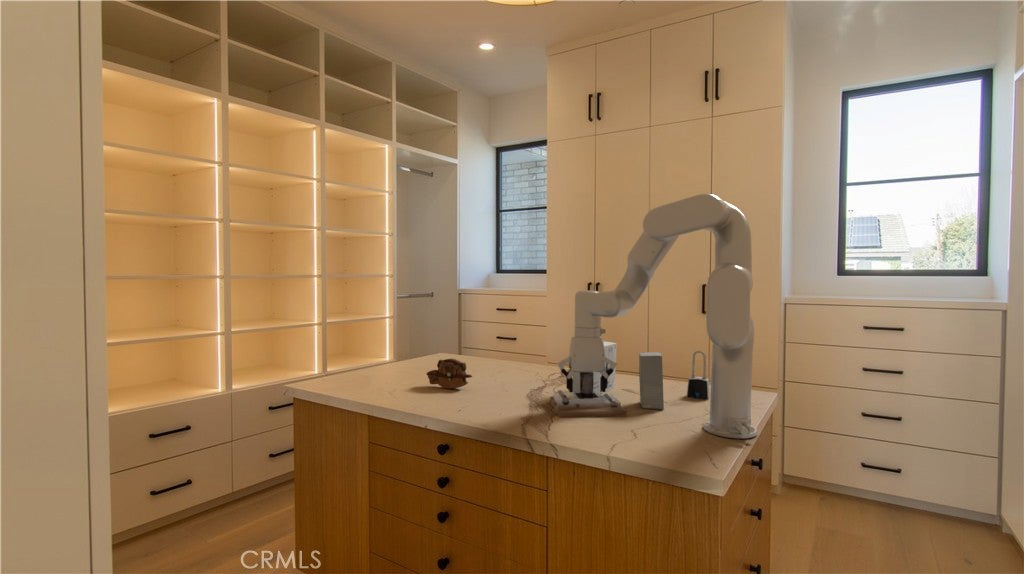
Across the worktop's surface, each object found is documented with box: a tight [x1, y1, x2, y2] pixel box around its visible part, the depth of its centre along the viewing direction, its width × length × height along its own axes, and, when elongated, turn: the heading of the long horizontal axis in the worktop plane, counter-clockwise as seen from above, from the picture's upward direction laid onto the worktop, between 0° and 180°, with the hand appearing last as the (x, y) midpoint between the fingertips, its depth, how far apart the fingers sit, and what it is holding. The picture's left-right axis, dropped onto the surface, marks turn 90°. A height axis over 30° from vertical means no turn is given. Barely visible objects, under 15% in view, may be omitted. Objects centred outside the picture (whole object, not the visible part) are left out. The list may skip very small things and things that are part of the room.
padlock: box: [686, 350, 711, 400], centre depth 163 cm, size 7×4×15 cm, turn 62°
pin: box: [579, 372, 594, 398], centre depth 148 cm, size 4×4×9 cm
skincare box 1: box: [572, 340, 618, 395], centre depth 167 cm, size 21×5×16 cm, turn 143°
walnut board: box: [549, 396, 627, 418], centre depth 149 cm, size 16×19×2 cm
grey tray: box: [553, 389, 622, 408], centre depth 149 cm, size 9×18×3 cm, turn 95°
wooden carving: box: [426, 358, 473, 389], centre depth 171 cm, size 16×5×10 cm, turn 73°
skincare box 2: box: [638, 351, 665, 410], centre depth 152 cm, size 8×7×16 cm
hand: (586, 391), depth 148 cm, fingers open, 9 cm apart
